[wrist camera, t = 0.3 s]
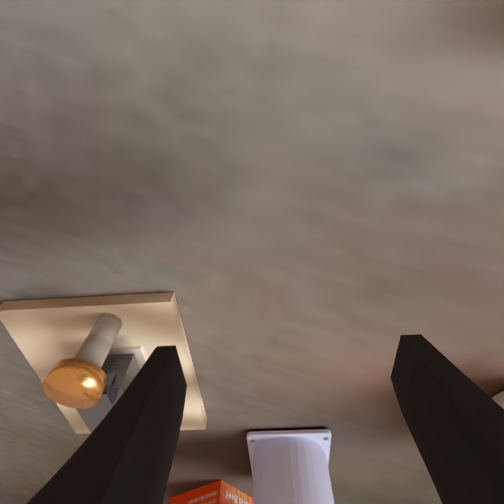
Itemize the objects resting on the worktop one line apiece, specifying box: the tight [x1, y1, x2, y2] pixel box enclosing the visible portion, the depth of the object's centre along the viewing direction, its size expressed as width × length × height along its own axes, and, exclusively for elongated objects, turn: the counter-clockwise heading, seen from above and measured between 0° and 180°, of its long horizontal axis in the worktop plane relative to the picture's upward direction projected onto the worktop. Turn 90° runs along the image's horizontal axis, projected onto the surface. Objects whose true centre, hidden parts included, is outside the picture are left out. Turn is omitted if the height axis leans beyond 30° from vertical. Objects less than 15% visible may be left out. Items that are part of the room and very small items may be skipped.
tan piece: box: [0, 292, 207, 434], centre depth 23 cm, size 15×12×5 cm
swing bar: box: [42, 353, 140, 433], centre depth 21 cm, size 14×4×4 cm, turn 4°
